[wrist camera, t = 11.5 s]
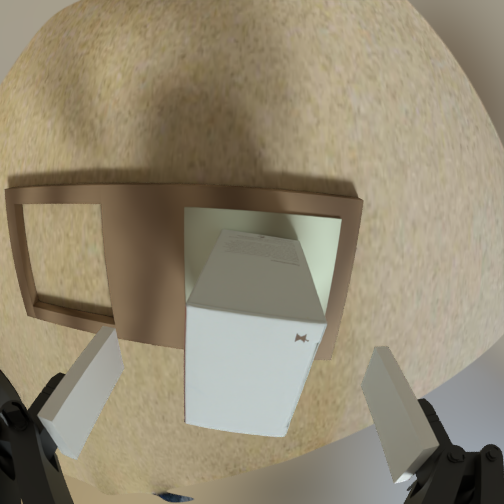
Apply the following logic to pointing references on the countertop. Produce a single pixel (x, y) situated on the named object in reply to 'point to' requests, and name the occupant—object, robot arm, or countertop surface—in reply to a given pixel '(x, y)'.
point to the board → (187, 248)
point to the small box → (250, 335)
